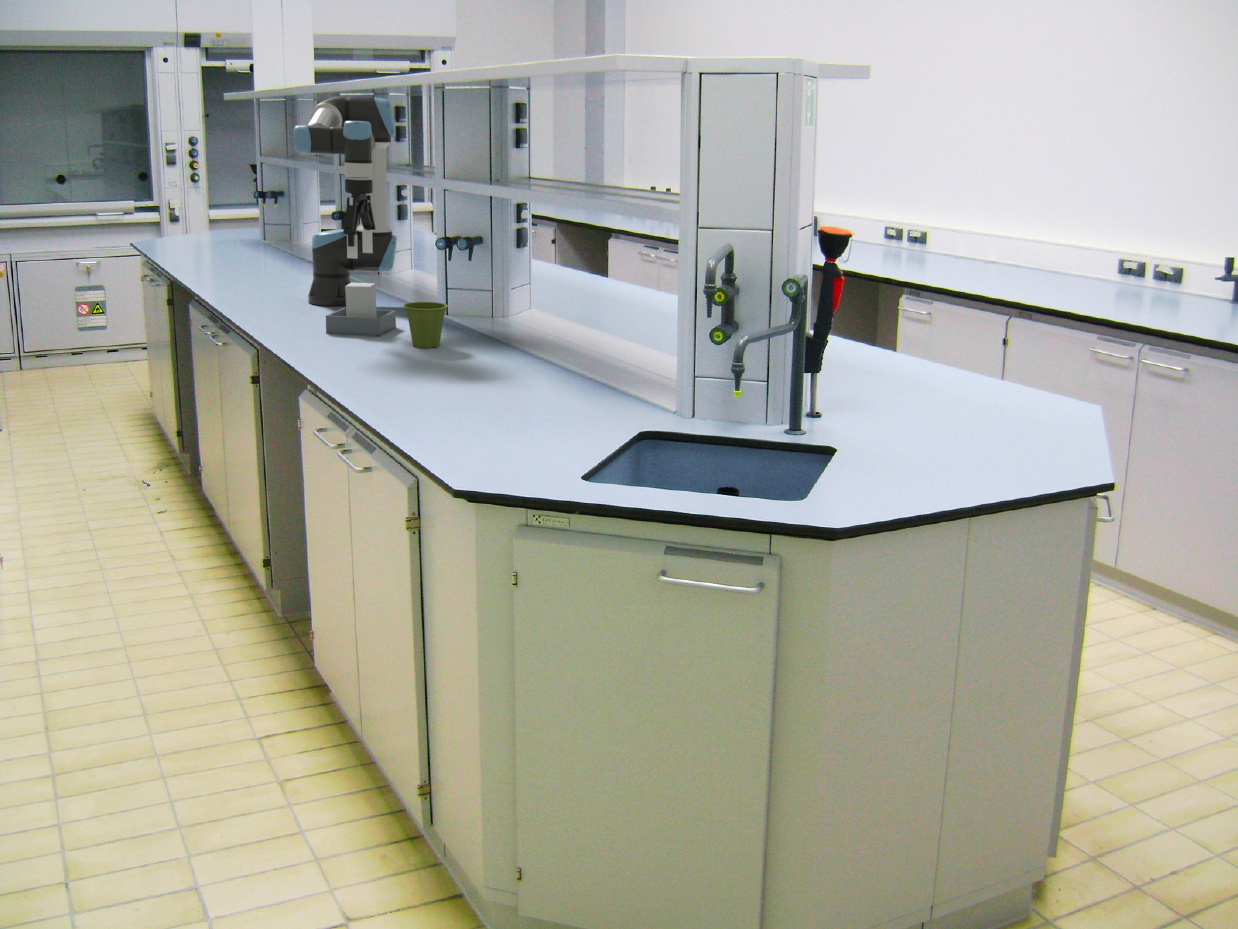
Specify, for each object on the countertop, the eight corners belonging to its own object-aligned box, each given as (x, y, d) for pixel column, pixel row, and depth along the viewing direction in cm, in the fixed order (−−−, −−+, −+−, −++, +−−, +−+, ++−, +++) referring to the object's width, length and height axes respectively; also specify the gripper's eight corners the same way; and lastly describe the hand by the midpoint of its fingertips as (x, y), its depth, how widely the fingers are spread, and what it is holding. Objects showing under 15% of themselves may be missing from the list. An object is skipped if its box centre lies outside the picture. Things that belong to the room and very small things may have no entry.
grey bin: (344, 324, 347) (343, 307, 345) (395, 327, 345) (395, 310, 344) (326, 333, 332) (325, 315, 330) (379, 336, 330) (379, 319, 329)
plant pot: (400, 342, 323) (399, 301, 320) (442, 341, 327) (442, 301, 324) (408, 350, 313) (407, 308, 310) (452, 349, 317) (452, 308, 314)
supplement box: (377, 326, 342) (376, 283, 339) (371, 330, 335) (370, 286, 331) (352, 325, 342) (351, 281, 339) (345, 329, 335) (344, 285, 332)
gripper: (359, 175, 339) (361, 249, 345) (330, 180, 315) (332, 259, 321) (385, 176, 338) (386, 251, 344) (357, 181, 314) (359, 261, 320)
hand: (360, 255), depth 332 cm, fingers open, 13 cm apart
